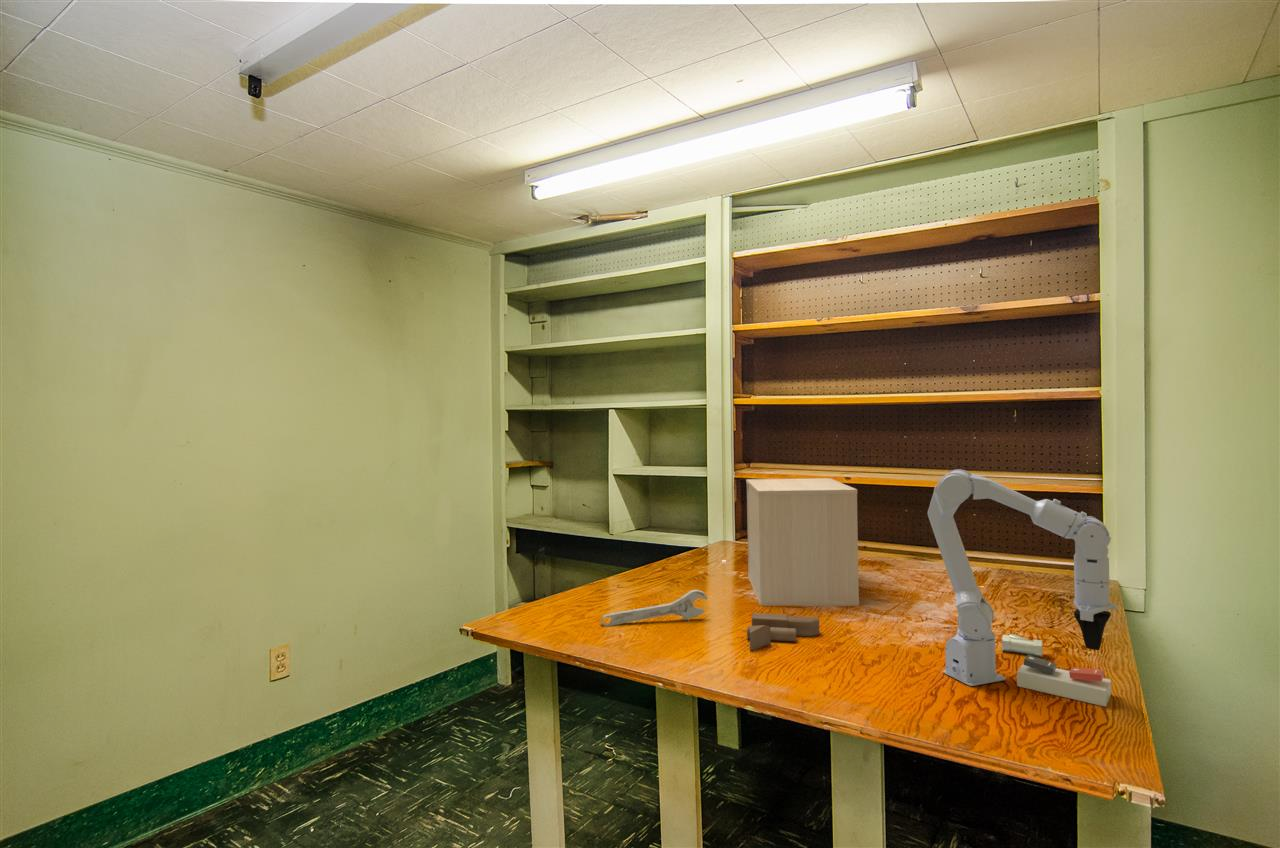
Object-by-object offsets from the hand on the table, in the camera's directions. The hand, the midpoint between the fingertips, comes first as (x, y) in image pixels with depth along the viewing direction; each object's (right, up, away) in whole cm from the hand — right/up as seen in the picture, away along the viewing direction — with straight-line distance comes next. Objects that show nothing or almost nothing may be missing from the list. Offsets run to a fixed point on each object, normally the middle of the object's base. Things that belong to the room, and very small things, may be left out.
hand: (1092, 648), depth 128 cm
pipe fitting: (+1, -10, +25) cm, 27 cm away
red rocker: (-1, -5, 0) cm, 5 cm away
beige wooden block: (-38, -10, +82) cm, 91 cm away
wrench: (-85, -11, +52) cm, 101 cm away
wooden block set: (-53, -11, +35) cm, 65 cm away
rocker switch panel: (-4, -10, +3) cm, 11 cm away
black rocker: (-7, -5, +6) cm, 10 cm away
